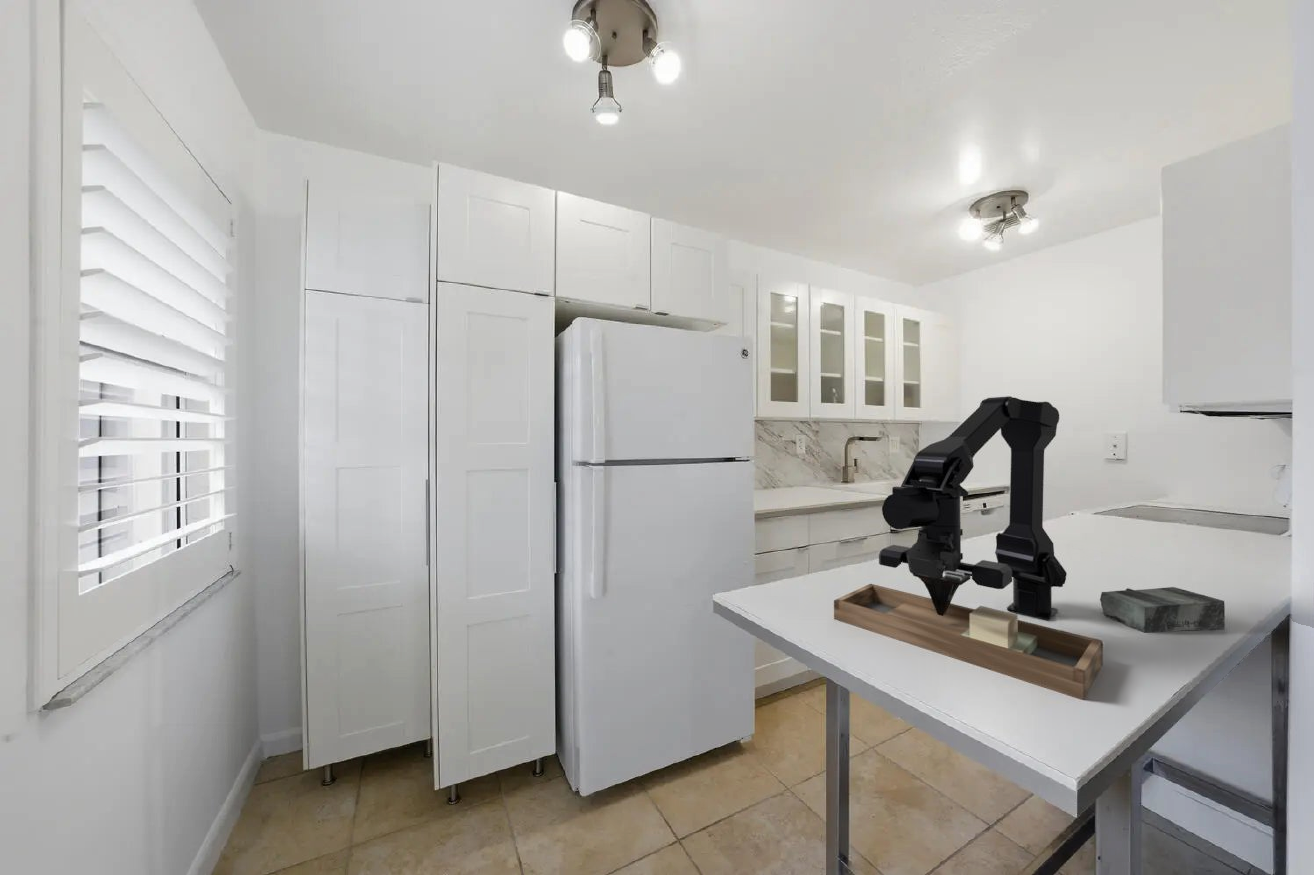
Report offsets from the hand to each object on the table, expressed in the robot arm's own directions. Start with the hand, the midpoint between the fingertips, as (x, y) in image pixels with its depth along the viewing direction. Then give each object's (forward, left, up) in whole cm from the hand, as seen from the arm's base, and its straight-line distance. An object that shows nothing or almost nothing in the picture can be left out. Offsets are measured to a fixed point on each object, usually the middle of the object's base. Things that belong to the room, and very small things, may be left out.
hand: (941, 614), depth 80 cm
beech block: (0, +8, -2) cm, 8 cm away
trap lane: (0, +2, -4) cm, 4 cm away
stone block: (-35, +23, -4) cm, 42 cm away
